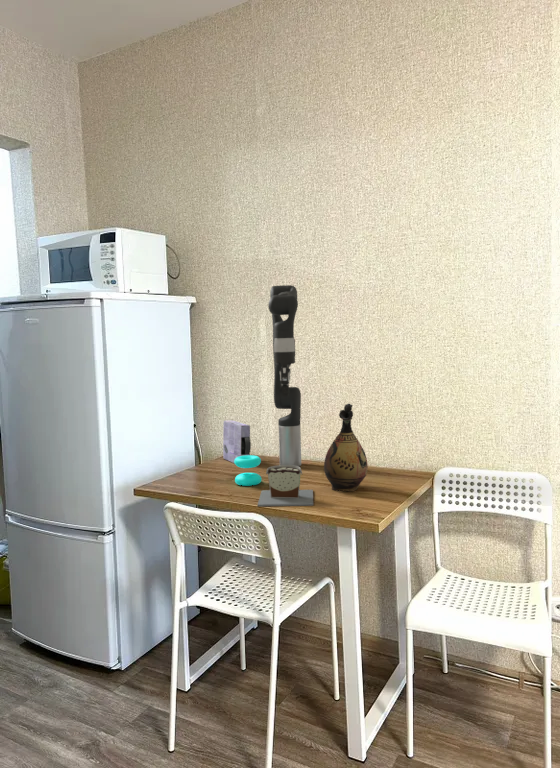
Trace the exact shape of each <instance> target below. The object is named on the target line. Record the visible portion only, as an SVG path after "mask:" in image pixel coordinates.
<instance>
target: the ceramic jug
mask: <svg viewBox="0 0 560 768" xmlns="http://www.w3.org/2000/svg"><path fill="white" fill-rule="evenodd" d="M352 408H353V404H351V403H347V404H345V405H344V407H343V409H341V410H340V411H339V413H338V414H339V415H338V416H339V418H340V419H341V420H342V424H341V429H340V431H339V433H338V434H337V435H336V437H335V439H334V440H333V441H332V443H331V444H330V446H329V448H328V449H327V452H326V454H325V458H324V462H323V471H324V475H325V478H326V479H327V481H328V482H329V483H330V485H331V490H332V491H337V492H344V493H345V492H355V491H357V490H358V488H359V486H360V485H361V483H362V482H363V481H364V479H365V478H366V477H367V473H368V467H369V466H368V465H369V464H368V458H367V456H366V452H365V449H364V447H363V446H362V445H361V443H360V440H359V439H358V438H357V436H356V435H355V433H354V431H353V428H352V420H353V417H354V412H353V409H352Z"/></svg>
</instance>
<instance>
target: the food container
mask: <svg viewBox="0 0 560 768" xmlns="http://www.w3.org/2000/svg"><path fill="white" fill-rule="evenodd" d="M265 472H266V473H265V475H267V478H268V485H269V486H268V487H269V490H270V494H271V498H299V490H300V486H301V475H303V471H302V468H301V467H300V466H294V465H280V464H278V465H273V466H269V467H267V469H266V471H265Z"/></svg>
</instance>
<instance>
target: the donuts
mask: <svg viewBox="0 0 560 768" xmlns="http://www.w3.org/2000/svg"><path fill="white" fill-rule="evenodd" d="M261 463H262V459H261V457H259V456H258V455H254V454H253V455H251V454H250V455H245V456H239V457H237V458H235V460H234V463H233V464H234V465H235V466H236V467H238V468H241V469H251V468H257V467H258V466H259V465H260V464H261ZM262 479H263V478H262V476H261V475H260V474H258V473H256V472H243V473H239V474H237V475H236V476H235V478H234V482H235V484H236V485H239V486H241V485H242V486H243V487H252V485H253V486H258V485H259V484H260V483H261V482H262Z"/></svg>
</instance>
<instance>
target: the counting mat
mask: <svg viewBox="0 0 560 768" xmlns="http://www.w3.org/2000/svg"><path fill="white" fill-rule="evenodd" d="M301 506H303V507H307V506H311V507H312V506H314V490H313V489H299V498H271V494H270V489H265V490H263V489H262V490H261V492H260V495H259V498H258V501H257V507H301Z"/></svg>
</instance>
